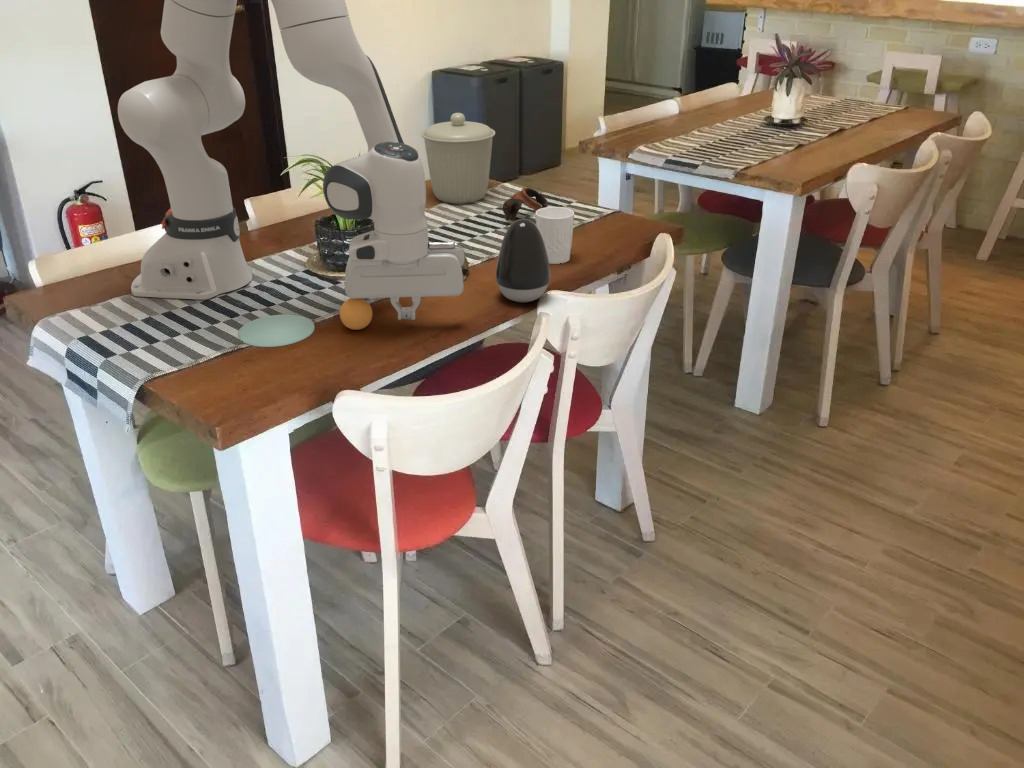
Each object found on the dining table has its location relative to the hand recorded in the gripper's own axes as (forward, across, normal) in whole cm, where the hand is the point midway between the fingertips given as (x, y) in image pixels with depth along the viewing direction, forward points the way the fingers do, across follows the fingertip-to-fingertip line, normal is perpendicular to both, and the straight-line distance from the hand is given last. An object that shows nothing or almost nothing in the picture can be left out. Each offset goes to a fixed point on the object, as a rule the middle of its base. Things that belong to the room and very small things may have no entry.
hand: (406, 318), depth 154 cm
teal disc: (+2, +23, 0) cm, 23 cm away
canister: (+2, -11, -77) cm, 78 cm away
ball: (-1, +9, 0) cm, 9 cm away
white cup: (+2, -29, -32) cm, 43 cm away
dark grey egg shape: (+2, -21, -12) cm, 24 cm away
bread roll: (+2, -6, -24) cm, 25 cm away
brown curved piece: (+2, -25, -58) cm, 63 cm away
